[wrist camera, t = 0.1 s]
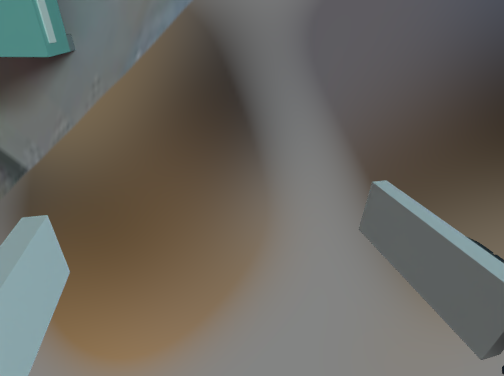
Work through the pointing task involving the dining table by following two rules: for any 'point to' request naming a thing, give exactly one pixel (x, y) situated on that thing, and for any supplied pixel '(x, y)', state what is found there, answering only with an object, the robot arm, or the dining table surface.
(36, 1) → the block
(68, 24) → the dining table surface
